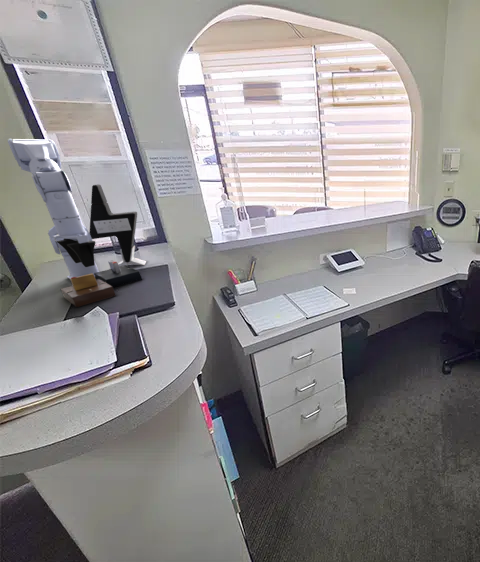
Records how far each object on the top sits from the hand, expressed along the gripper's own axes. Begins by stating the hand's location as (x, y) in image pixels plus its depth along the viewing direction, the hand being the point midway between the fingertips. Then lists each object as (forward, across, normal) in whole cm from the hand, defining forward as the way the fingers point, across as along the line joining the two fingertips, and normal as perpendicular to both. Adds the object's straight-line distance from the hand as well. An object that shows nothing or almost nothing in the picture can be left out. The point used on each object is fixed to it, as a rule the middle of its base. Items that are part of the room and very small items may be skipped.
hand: (84, 264), depth 90 cm
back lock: (+6, -7, +8) cm, 12 cm away
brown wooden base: (+9, +2, -2) cm, 10 cm away
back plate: (+9, -7, +8) cm, 14 cm away
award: (+10, -23, +17) cm, 31 cm away
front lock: (+6, +2, -2) cm, 7 cm away
